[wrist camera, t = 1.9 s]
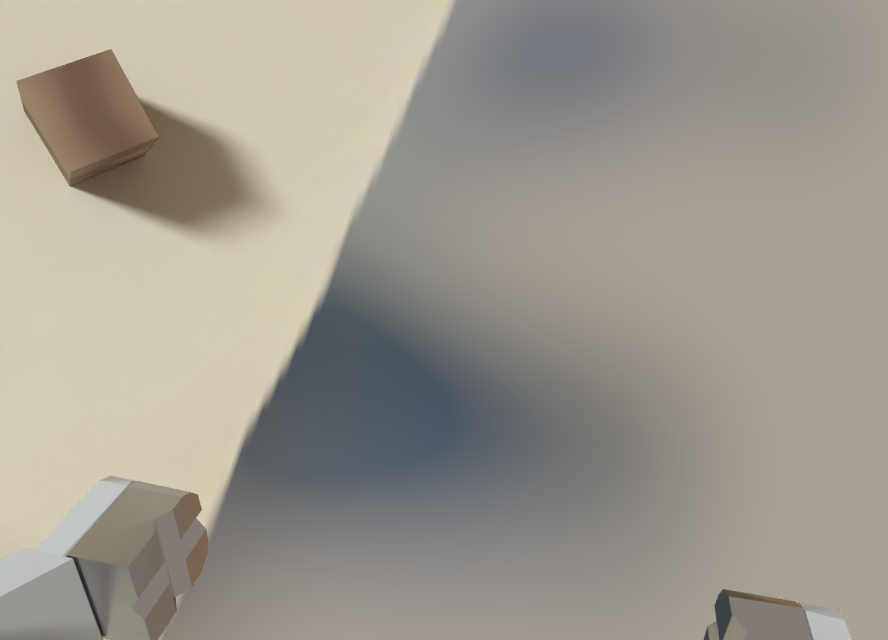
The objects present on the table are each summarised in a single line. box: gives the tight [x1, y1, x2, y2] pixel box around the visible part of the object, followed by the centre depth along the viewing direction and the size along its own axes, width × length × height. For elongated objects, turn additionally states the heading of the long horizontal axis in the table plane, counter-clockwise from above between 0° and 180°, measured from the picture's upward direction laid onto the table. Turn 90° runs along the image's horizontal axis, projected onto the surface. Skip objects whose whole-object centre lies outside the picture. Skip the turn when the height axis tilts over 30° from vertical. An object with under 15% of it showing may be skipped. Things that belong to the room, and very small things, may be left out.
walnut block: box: [17, 49, 159, 186], centre depth 40 cm, size 5×5×8 cm
